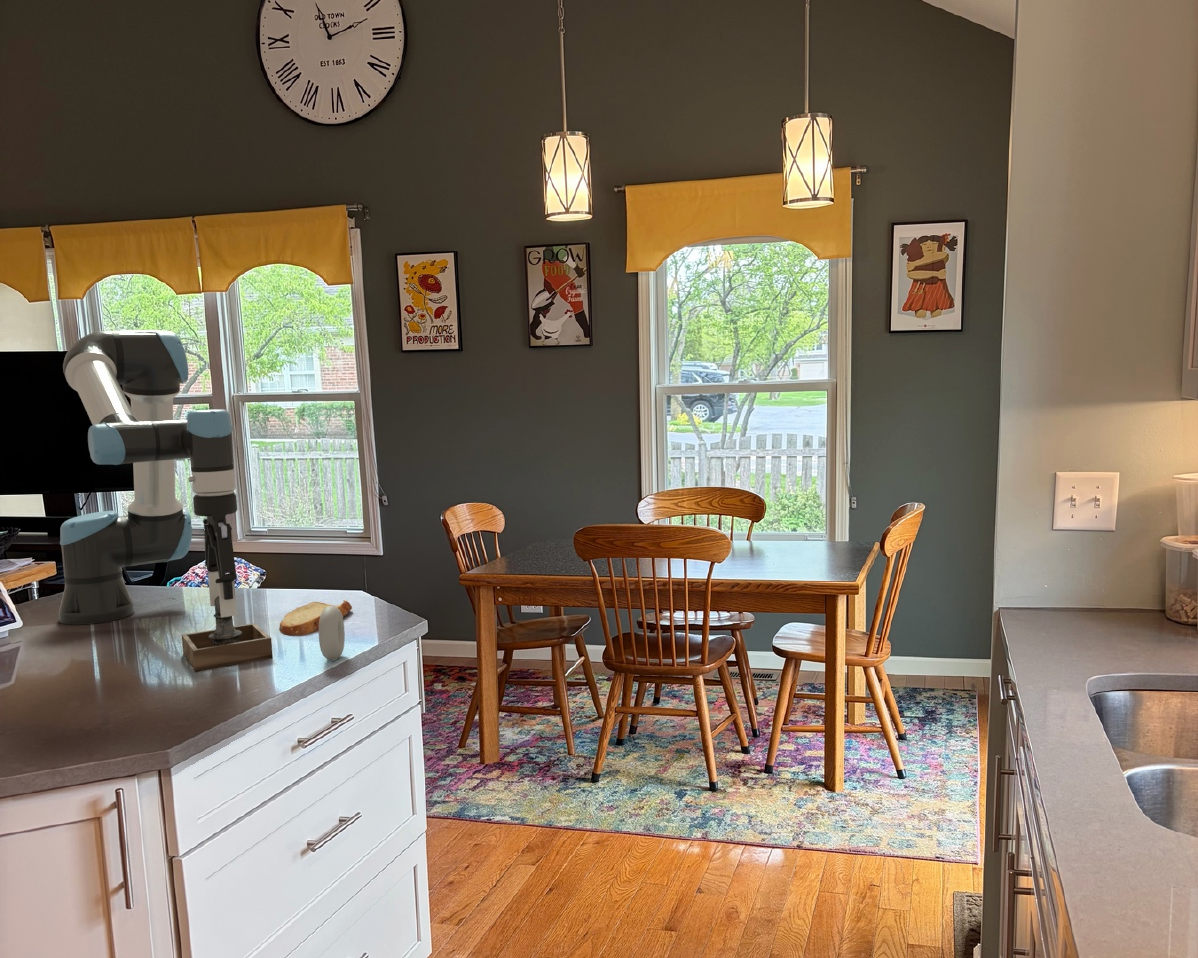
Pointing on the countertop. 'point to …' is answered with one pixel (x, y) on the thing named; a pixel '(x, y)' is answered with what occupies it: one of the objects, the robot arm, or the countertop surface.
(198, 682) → the countertop surface
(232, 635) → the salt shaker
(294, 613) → the slice of bread
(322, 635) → the donut
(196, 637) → the box
